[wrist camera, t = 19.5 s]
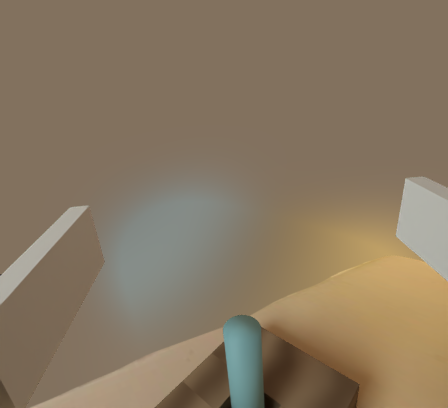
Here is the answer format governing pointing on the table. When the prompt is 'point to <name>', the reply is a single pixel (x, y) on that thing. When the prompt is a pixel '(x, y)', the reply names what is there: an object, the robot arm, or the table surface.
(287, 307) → the table surface
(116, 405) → the table surface
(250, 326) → the teal dowel
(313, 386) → the walnut hole block
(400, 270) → the table surface
